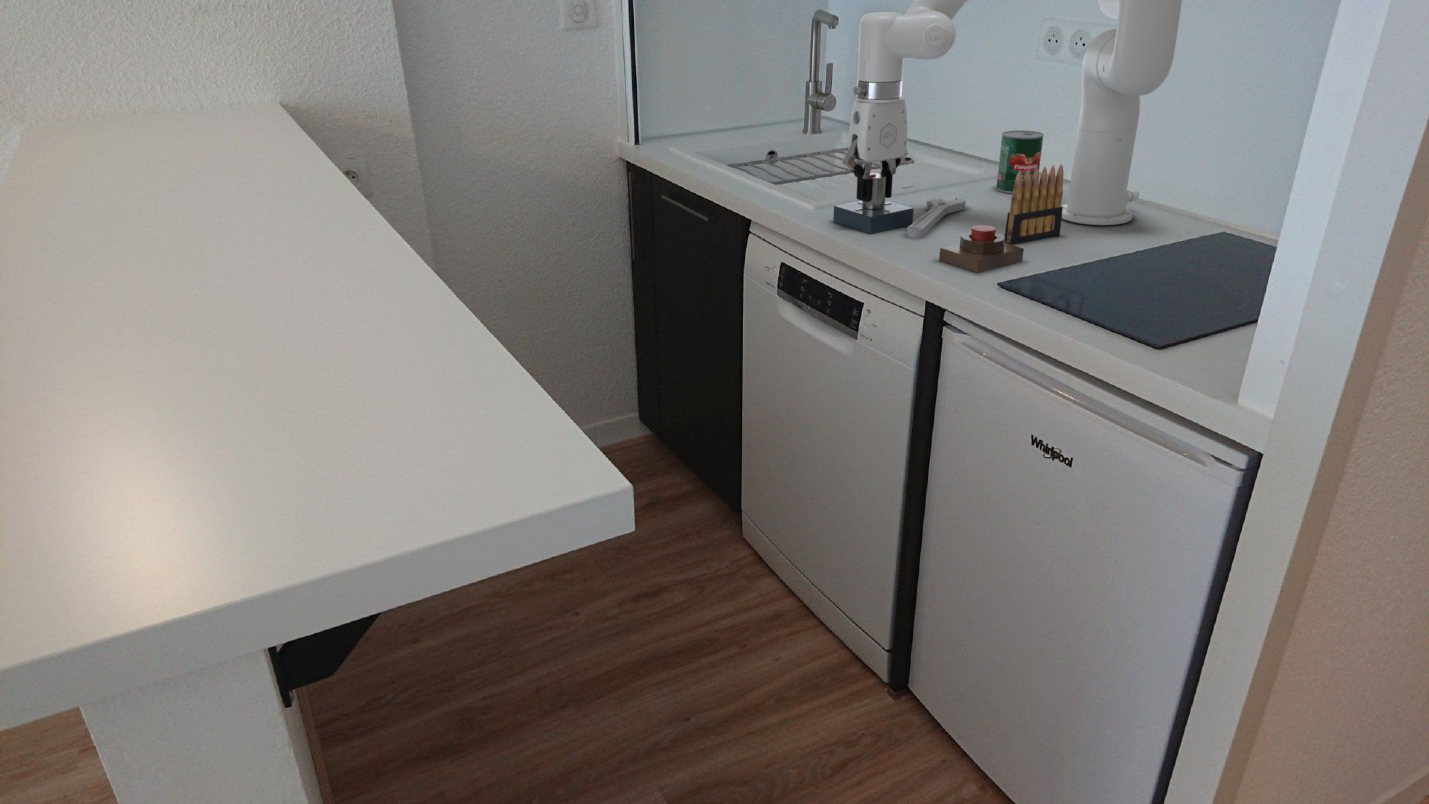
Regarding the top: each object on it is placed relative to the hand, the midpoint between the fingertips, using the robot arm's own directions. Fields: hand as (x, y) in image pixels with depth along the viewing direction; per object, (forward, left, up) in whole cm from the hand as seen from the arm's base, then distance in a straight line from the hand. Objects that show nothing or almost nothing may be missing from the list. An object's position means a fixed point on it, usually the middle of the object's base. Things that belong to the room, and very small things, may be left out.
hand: (873, 197), depth 169 cm
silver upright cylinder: (0, 0, -2) cm, 2 cm away
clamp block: (0, 0, -5) cm, 5 cm away
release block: (+2, +28, -5) cm, 28 cm away
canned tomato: (-40, -2, -5) cm, 40 cm away
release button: (+2, +28, -1) cm, 28 cm away
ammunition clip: (-14, +24, -5) cm, 28 cm away
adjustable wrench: (-10, +4, -5) cm, 12 cm away
